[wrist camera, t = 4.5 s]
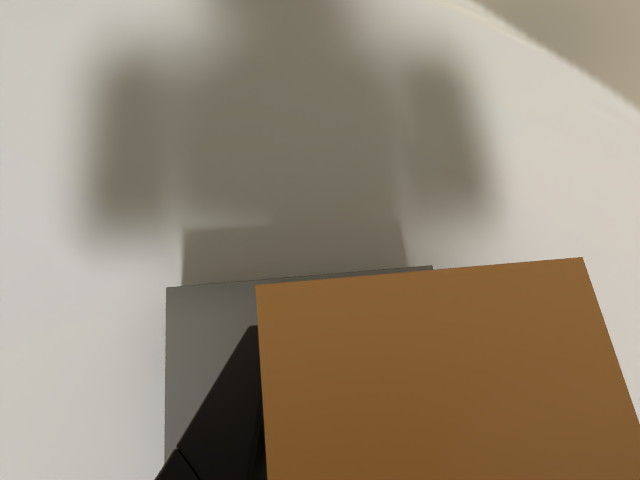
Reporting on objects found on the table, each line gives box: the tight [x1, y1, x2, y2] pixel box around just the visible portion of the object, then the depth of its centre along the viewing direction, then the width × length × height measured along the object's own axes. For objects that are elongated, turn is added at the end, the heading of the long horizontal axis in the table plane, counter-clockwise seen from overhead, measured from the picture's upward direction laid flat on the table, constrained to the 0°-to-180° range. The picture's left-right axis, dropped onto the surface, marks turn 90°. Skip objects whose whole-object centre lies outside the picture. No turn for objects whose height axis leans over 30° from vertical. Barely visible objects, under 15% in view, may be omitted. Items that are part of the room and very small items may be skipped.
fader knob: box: [255, 257, 640, 480], centre depth 8 cm, size 3×3×10 cm
